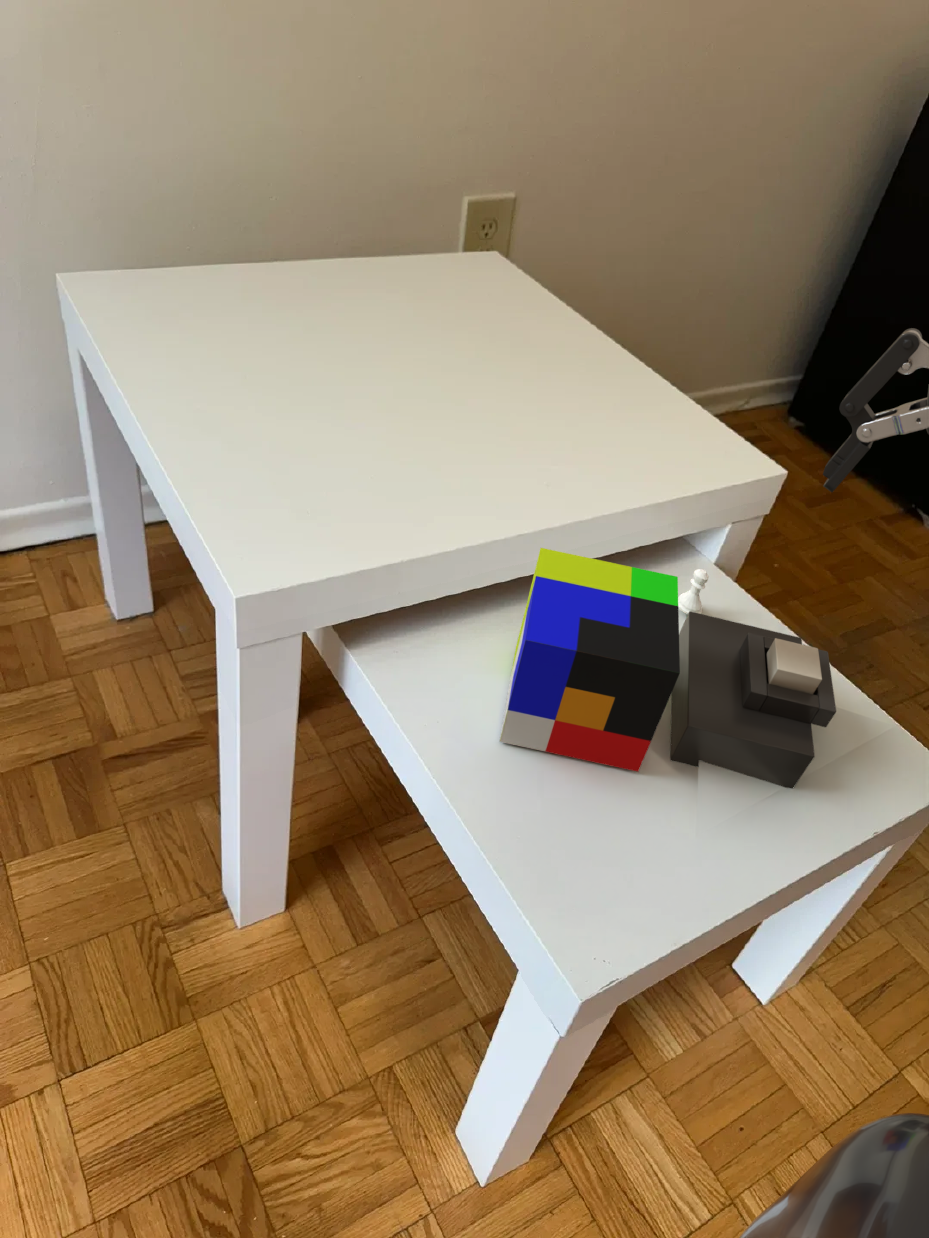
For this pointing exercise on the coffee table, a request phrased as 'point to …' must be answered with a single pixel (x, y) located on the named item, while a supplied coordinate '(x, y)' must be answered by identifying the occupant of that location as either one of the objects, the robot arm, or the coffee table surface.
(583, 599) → the puzzle toy
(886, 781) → the coffee table surface
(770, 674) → the beige push button
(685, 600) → the chess pawn
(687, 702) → the dark grey block
